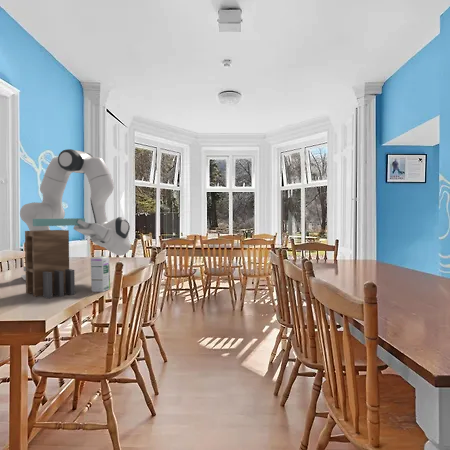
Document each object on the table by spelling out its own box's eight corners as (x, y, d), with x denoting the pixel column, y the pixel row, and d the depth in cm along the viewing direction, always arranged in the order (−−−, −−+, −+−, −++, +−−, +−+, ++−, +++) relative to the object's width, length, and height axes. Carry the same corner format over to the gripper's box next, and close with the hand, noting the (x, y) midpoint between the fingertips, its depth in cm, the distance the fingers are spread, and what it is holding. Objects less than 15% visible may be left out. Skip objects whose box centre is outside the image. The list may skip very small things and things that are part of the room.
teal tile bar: (32, 226, 156) (32, 218, 156) (81, 224, 172) (81, 218, 171) (35, 226, 154) (35, 218, 154) (84, 225, 169) (84, 218, 169)
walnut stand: (26, 293, 158) (24, 230, 157) (59, 288, 168) (58, 229, 168) (35, 296, 151) (33, 231, 150) (69, 291, 161) (68, 230, 161)
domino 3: (70, 294, 154) (70, 270, 154) (65, 293, 157) (65, 269, 157) (74, 294, 155) (74, 270, 155) (69, 292, 159) (69, 268, 158)
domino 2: (59, 296, 151) (59, 271, 151) (54, 294, 154) (54, 270, 154) (63, 296, 152) (63, 271, 152) (58, 294, 155) (58, 270, 155)
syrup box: (103, 292, 160) (103, 257, 159) (90, 291, 161) (90, 257, 160) (110, 289, 165) (109, 256, 165) (97, 289, 166) (97, 256, 166)
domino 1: (48, 298, 148) (47, 272, 147) (43, 296, 151) (42, 271, 151) (52, 297, 149) (51, 272, 148) (47, 296, 152) (46, 271, 152)
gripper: (92, 228, 185) (68, 214, 176) (114, 230, 171) (89, 214, 162) (86, 240, 183) (61, 226, 174) (108, 242, 169) (82, 227, 160)
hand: (75, 220), depth 168 cm, fingers closed on teal tile bar, 3 cm apart
